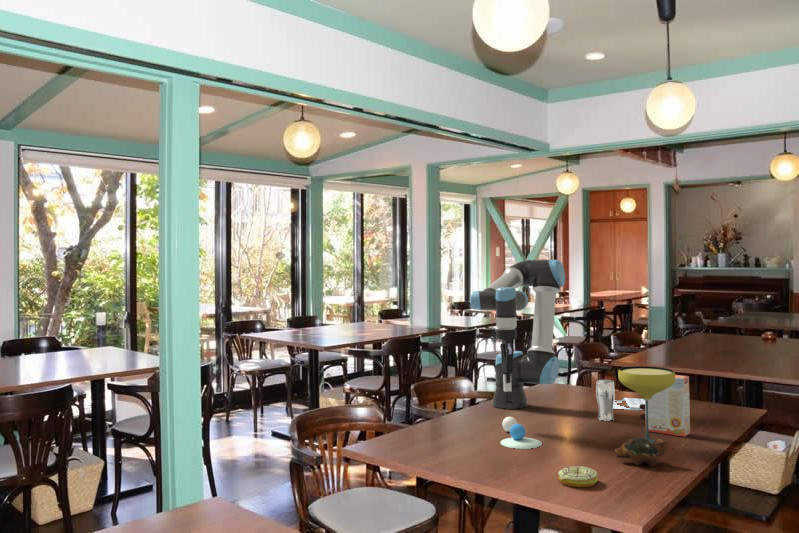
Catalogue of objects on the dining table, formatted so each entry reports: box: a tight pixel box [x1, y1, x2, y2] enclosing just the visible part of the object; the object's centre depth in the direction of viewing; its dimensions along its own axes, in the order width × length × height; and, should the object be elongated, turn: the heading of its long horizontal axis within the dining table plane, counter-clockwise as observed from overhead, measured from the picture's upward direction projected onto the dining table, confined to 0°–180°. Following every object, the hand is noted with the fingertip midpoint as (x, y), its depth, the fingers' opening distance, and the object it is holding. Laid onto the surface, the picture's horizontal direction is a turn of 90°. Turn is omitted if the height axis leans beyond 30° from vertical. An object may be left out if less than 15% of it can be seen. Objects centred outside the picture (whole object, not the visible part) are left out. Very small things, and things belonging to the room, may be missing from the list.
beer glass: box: [595, 379, 616, 422], centre depth 255 cm, size 7×7×15 cm
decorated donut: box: [557, 465, 599, 488], centre depth 184 cm, size 10×11×4 cm
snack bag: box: [613, 397, 645, 411], centre depth 279 cm, size 19×20×2 cm
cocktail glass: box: [617, 365, 676, 443], centre depth 220 cm, size 18×18×25 cm
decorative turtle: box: [614, 437, 668, 468], centre depth 200 cm, size 10×15×8 cm, turn 80°
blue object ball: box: [509, 423, 527, 440], centre depth 229 cm, size 6×6×6 cm
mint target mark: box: [500, 437, 543, 450], centre depth 224 cm, size 14×14×1 cm
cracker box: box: [644, 374, 691, 438], centre depth 234 cm, size 14×6×21 cm, turn 47°
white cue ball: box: [501, 416, 518, 433], centre depth 240 cm, size 6×6×6 cm
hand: (507, 391), depth 245 cm, fingers closed
